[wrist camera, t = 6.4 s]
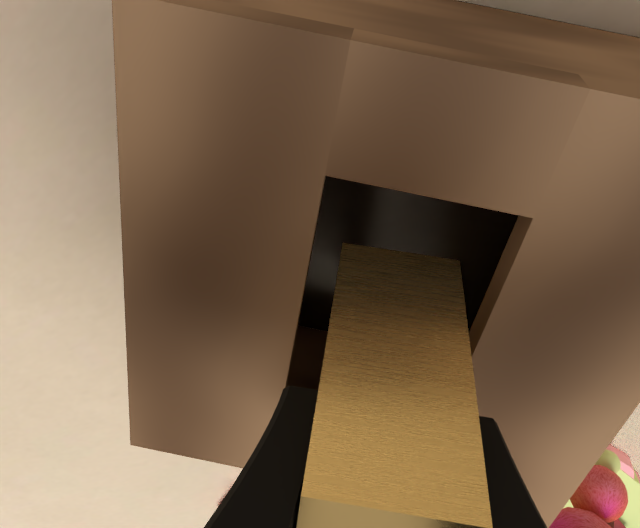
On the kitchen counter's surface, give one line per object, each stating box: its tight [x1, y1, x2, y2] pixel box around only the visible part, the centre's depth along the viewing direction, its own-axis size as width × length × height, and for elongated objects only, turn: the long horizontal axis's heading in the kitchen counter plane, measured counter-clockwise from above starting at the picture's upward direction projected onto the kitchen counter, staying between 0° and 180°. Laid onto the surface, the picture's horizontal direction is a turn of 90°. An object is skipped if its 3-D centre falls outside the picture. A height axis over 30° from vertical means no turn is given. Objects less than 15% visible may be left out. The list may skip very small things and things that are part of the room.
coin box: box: [112, 0, 640, 528], centre depth 15 cm, size 12×12×6 cm
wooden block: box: [296, 243, 493, 528], centre depth 11 cm, size 2×5×6 cm, turn 174°
